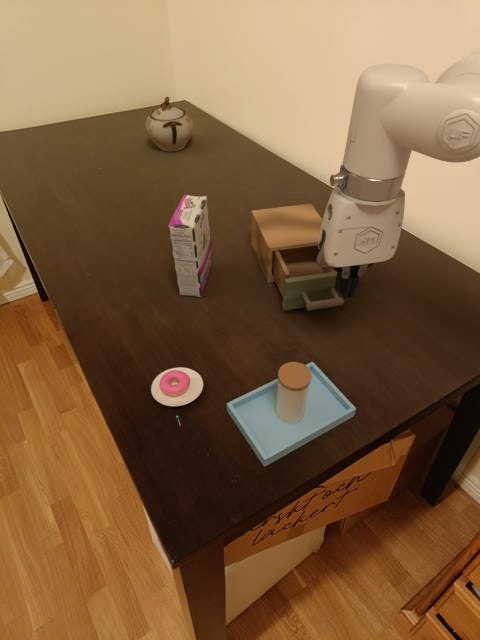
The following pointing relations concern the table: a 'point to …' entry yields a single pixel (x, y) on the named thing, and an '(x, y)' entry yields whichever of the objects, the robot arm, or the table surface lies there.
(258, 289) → the table surface
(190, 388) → the donut
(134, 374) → the table surface
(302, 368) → the spice pot
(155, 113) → the sugar bowl
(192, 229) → the candy bar box
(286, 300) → the drawer
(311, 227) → the cabinet
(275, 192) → the table surface
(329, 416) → the tray
